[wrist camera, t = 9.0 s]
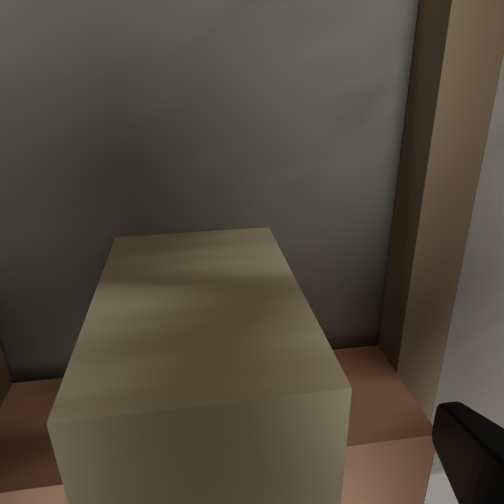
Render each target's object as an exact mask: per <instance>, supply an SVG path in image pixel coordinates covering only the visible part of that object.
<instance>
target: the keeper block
mask: <svg viewBox="0 0 504 504" xmlns="http://www.w3.org/2000/svg"><path fill="white" fill-rule="evenodd" d="M351 394H352V387H351V385H350V383H349V381H348V379H347V377H346V375H345V373H344V372H343V370H342V368H341V366H340V364H339V362H338V360H337V358H336V356H335V354H334V352H333V350H332V348H331V346H330V344H329V342H328V341H327V339H326V337H325V335H324V333H323V331H322V329H321V327H320V325H319V323H318V321H317V319H316V317H315V315H314V313H313V311H312V310H311V308H310V306H309V304H308V302H307V300H306V298H305V296H304V294H303V292H302V290H301V288H300V286H299V284H298V282H297V280H296V279H295V277H294V275H293V273H292V271H291V269H290V267H289V265H288V263H287V261H286V259H285V257H284V255H283V253H282V251H281V249H280V248H279V246H278V244H277V242H276V240H275V238H274V236H273V234H272V232H271V230H270V228H269V227H259V228H244V229H229V230H214V231H199V232H184V233H169V234H154V235H139V236H124V237H115V239H114V242H113V245H112V247H111V250H110V253H109V256H108V258H107V261H106V264H105V266H104V269H103V272H102V275H101V277H100V280H99V283H98V285H97V288H96V291H95V293H94V296H93V299H92V302H91V304H90V307H89V310H88V312H87V315H86V318H85V321H84V323H83V326H82V329H81V331H80V334H79V337H78V340H77V342H76V345H75V348H74V350H73V353H72V356H71V358H70V361H69V364H68V367H67V369H66V372H65V375H64V377H63V380H62V383H61V386H60V388H59V391H58V394H57V396H56V399H55V402H54V405H53V407H52V410H51V413H50V415H49V418H48V421H47V423H46V425H47V428H48V432H49V436H50V439H51V443H52V447H53V450H54V454H55V458H56V461H57V465H58V469H59V472H60V476H61V479H62V483H63V487H64V490H65V494H66V498H67V501H68V504H341V497H342V486H343V476H344V466H345V456H346V445H347V435H348V425H349V415H350V404H351Z"/></svg>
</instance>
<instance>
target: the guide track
mask: <svg viewBox="0 0 504 504" xmlns="http://www.w3.org/2000/svg"><path fill="white" fill-rule="evenodd" d="M503 54H504V0H420V3H419V12H418V20H417V28H416V36H415V44H414V53H413V61H412V69H411V77H410V85H409V93H408V102H407V110H406V118H405V126H404V134H403V142H402V151H401V159H400V167H399V175H398V183H397V192H396V200H395V208H394V216H393V224H392V232H391V241H390V249H389V257H388V265H387V273H386V281H385V290H384V298H383V306H382V314H381V322H380V331H379V339H378V345H373V346H364V347H354V348H344V349H335V350H333V352H334V354H335V356H336V358H337V360H338V362H339V364H340V366H341V368H342V370H343V372H344V373H345V375H346V377H347V379H348V381H349V383H350V385H351V387H352V394H351V404H350V415H349V425H348V435H347V445H346V456H345V466H344V476H343V486H342V497H341V504H424V501H425V496H426V491H427V486H428V482H429V477H430V472H431V468H432V463H433V458H434V453H435V447H434V445H433V441H432V429H433V426H432V424H431V423H430V421H431V416H432V411H433V406H434V401H435V396H436V391H437V386H438V381H439V376H440V371H441V366H442V361H443V356H444V351H445V346H446V341H447V336H448V331H449V326H450V321H451V316H452V311H453V306H454V301H455V296H456V290H457V285H458V280H459V275H460V270H461V265H462V260H463V255H464V250H465V245H466V240H467V235H468V230H469V225H470V220H471V215H472V210H473V205H474V200H475V195H476V190H477V185H478V180H479V175H480V170H481V165H482V160H483V155H484V149H485V144H486V139H487V134H488V129H489V124H490V119H491V114H492V109H493V104H494V99H495V94H496V89H497V84H498V79H499V74H500V69H501V64H502V59H503ZM62 380H63V378H57V379H47V380H38V381H28V382H18V383H13V382H12V379H11V376H10V372H9V369H8V366H7V362H6V359H5V356H4V352H3V349H2V346H1V342H0V504H68V501H67V498H66V494H65V490H64V487H63V483H62V479H61V476H60V472H59V469H58V465H57V461H56V458H55V454H54V450H53V447H52V443H51V439H50V436H49V432H48V428H47V425H46V423H47V421H48V418H49V415H50V413H51V410H52V407H53V405H54V402H55V399H56V396H57V394H58V391H59V388H60V386H61V383H62Z"/></svg>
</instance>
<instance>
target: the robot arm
mask: <svg viewBox="0 0 504 504" xmlns="http://www.w3.org/2000/svg"><path fill="white" fill-rule="evenodd" d="M432 441H433V445H434V447H435V450H436V452H437V454H438V457H439V459H440V461H441V464H442V466H443V468H444V470H445V473H446V475H447V477H448V480H449V482H450V484H451V486H452V489H453V491H454V494H455V496H456V498H457V500H458V502H459V504H504V428H502V427H500V426H499V425H497V424H496V423H494V422H492V421H491V420H489V419H487V418H486V417H484V416H482V415H481V414H479V413H477V412H476V411H474V410H472V409H471V408H469V407H467V406H466V405H464V404H462V403H460V402H447V403H441V404H439V405H438V407H437V409H436V414H435V419H434V424H433V429H432Z"/></svg>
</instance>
